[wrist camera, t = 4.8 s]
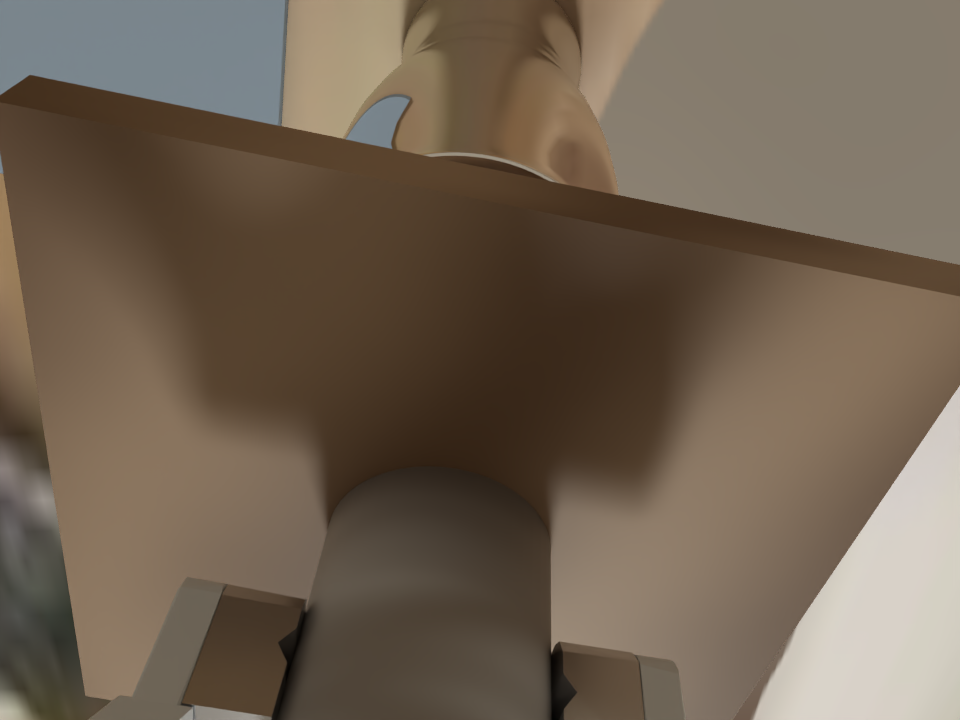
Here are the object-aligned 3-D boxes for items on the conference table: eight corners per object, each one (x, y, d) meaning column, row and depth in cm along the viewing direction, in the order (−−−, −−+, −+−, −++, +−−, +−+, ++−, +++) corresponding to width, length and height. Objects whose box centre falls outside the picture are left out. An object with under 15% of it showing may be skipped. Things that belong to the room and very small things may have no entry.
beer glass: (382, -44, 27) (263, 138, 15) (601, -43, 27) (654, 144, 15) (396, 161, 32) (311, 431, 20) (586, 164, 31) (618, 440, 19)
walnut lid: (982, 269, 10) (1254, 609, 6) (678, 751, 17) (717, 1060, 13) (30, 74, 9) (-331, 319, 6) (104, 656, 16) (-38, 955, 12)
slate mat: (297, -164, 26) (294, -162, 25) (275, 220, 33) (272, 226, 33) (-154, -268, 25) (-165, -267, 24) (-69, 152, 32) (-77, 158, 32)
